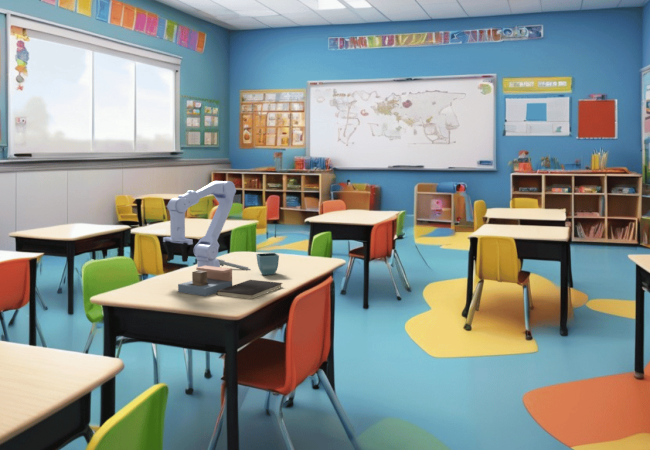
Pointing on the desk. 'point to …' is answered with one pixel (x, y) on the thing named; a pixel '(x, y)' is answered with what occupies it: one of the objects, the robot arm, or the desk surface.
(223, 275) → the salmon pink block
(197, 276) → the walnut peg
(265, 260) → the flower pot
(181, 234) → the robot arm
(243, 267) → the caliper
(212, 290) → the socket block
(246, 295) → the hardcover book
